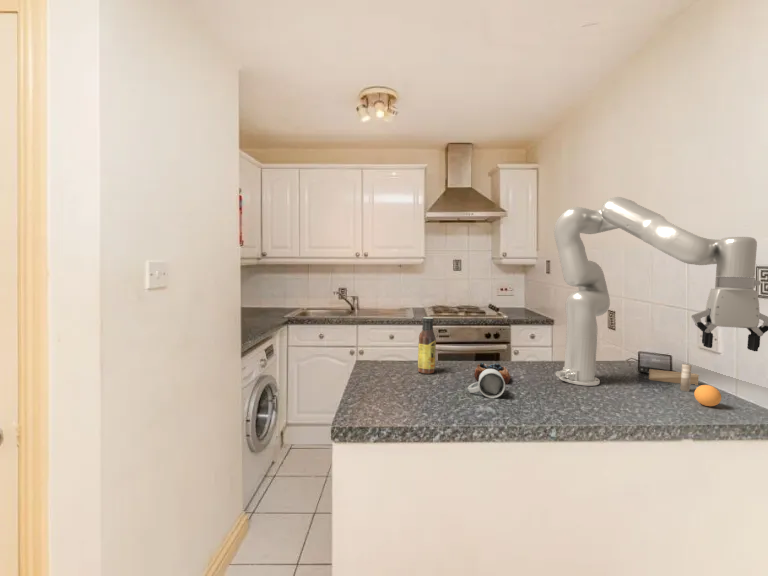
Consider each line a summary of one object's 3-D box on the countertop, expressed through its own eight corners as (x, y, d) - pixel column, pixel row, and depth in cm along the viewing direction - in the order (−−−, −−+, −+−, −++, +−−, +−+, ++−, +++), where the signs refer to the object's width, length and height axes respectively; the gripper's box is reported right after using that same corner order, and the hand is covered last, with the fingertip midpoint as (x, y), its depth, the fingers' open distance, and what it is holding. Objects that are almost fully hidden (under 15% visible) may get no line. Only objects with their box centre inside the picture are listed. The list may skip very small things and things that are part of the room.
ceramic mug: (502, 390, 119) (502, 366, 118) (505, 399, 111) (505, 373, 110) (467, 388, 121) (468, 364, 121) (467, 396, 113) (468, 371, 113)
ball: (714, 410, 106) (715, 389, 106) (689, 403, 112) (690, 383, 112) (724, 407, 109) (726, 387, 109) (700, 400, 115) (701, 381, 114)
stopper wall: (698, 385, 131) (698, 375, 131) (650, 380, 135) (651, 370, 135) (695, 383, 133) (696, 373, 133) (648, 378, 137) (649, 369, 137)
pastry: (474, 373, 138) (475, 357, 138) (509, 377, 135) (510, 361, 135) (473, 382, 128) (474, 365, 127) (511, 386, 124) (512, 368, 124)
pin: (687, 391, 123) (689, 366, 123) (678, 389, 125) (680, 364, 125) (691, 391, 124) (693, 365, 124) (682, 388, 126) (684, 363, 126)
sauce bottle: (434, 375, 134) (436, 319, 132) (416, 373, 135) (418, 318, 134) (435, 370, 140) (437, 317, 139) (418, 369, 141) (420, 316, 140)
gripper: (766, 285, 101) (761, 348, 102) (688, 282, 106) (684, 343, 107) (786, 286, 94) (780, 354, 94) (701, 283, 99) (696, 348, 100)
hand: (729, 348), depth 101 cm, fingers open, 9 cm apart
